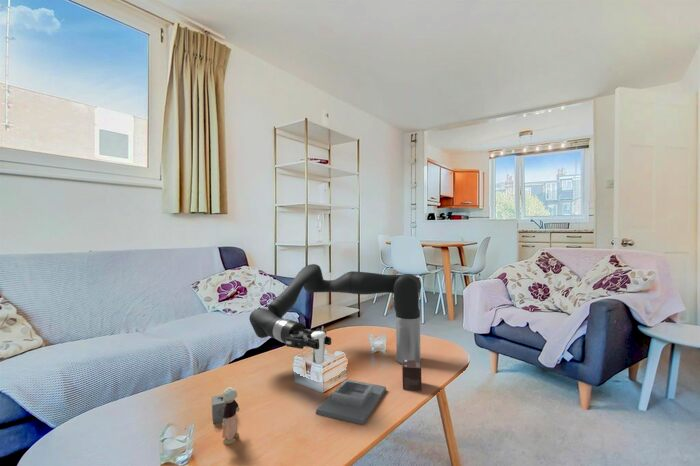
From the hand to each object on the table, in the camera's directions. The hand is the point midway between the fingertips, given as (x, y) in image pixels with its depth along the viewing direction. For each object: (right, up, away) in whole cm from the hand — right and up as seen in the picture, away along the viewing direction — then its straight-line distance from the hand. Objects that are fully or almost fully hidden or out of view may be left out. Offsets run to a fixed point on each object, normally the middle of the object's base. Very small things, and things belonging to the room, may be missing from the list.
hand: (324, 343), depth 98 cm
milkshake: (-2, -6, +2) cm, 7 cm away
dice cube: (-28, -18, -6) cm, 34 cm away
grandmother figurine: (-22, -18, -17) cm, 33 cm away
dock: (+9, -18, +1) cm, 19 cm away
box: (+28, -17, +10) cm, 34 cm away
